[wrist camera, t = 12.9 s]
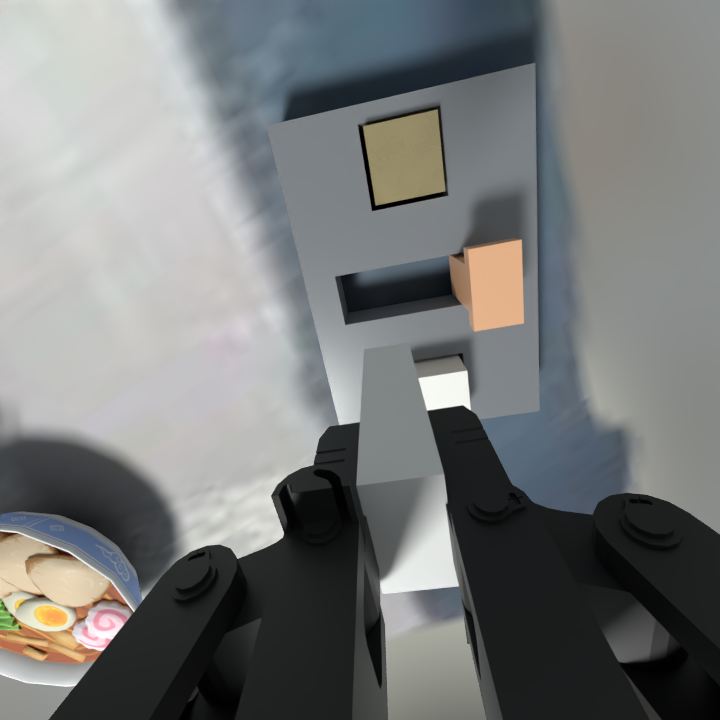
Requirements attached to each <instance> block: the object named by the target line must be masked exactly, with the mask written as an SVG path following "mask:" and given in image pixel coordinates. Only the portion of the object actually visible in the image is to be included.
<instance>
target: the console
mask: <svg viewBox="0 0 720 720" xmlns="http://www.w3.org/2000/svg"><path fill="white" fill-rule="evenodd" d="M437 109H438V119H439V130H440V140H441V151H442V161H443V172H444V182H445V191H444V192H440V193H439V196H440V197H438V198H433V199H428V200H423V201H418V202H414V203H409V204H404V205H399V206H394V207H389V208H384V209H379V210H374V211H372V207H371V201H370V195H369V189H368V183H367V177H366V171H365V165H364V159H363V153H362V147H361V141H360V135H361V134H364V130H363V126H367V125H371V124H376V123H380V122H385V121H389V120H393V119H398V118H402V117H407V116H411V115H415V114H420V113H424V112H429V111H433V110H437ZM266 127H267V131H268V135H269V139H270V143H271V147H272V151H273V155H274V159H275V163H276V167H277V172H278V176H279V180H280V184H281V188H282V192H283V196H284V200H285V204H286V208H287V213H288V217H289V221H290V225H291V229H292V233H293V237H294V241H295V245H296V249H297V253H298V258H299V262H300V266H301V270H302V274H303V278H304V282H305V286H306V290H307V294H308V298H309V303H310V307H311V311H312V315H313V319H314V323H315V327H316V331H317V335H318V339H319V343H320V348H321V352H322V356H323V360H324V364H325V368H326V372H327V376H328V380H329V384H330V388H331V393H332V397H333V401H334V405H335V409H336V413H337V417H338V421H339V425H343V424H350V423H357V422H360V411H361V393H362V375H363V358H364V350H365V349H370V348H376V347H382V346H388V345H394V344H400V343H406V342H409V346H410V349H411V353H412V357H413V361H416V360H422V359H428V358H435V357H441V356H447V355H453V354H458V355H459V357H460V359H461V361H462V362H463V364H464V366H465V368H466V369H467V373H468V385H469V396H470V407H471V411H472V412H474V413H475V414H477V416H478V418H479V419H486V418H493V417H500V416H507V415H514V414H521V413H528V412H535V411H539V333H538V248H537V163H536V78H535V63H532V64H527V65H523V66H519V67H515V68H510V69H506V70H502V71H498V72H493V73H489V74H485V75H481V76H476V77H472V78H468V79H463V80H459V81H455V82H451V83H446V84H442V85H438V86H434V87H429V88H425V89H421V90H417V91H412V92H408V93H404V94H400V95H395V96H391V97H387V98H382V99H378V100H374V101H370V102H365V103H361V104H357V105H353V106H348V107H344V108H340V109H336V110H331V111H327V112H323V113H318V114H314V115H310V116H306V117H301V118H297V119H293V120H289V121H284V122H280V123H276V124H272V125H267V126H266ZM511 238H517V239H522V267H523V305H524V323H523V324H517V325H511V326H505V327H499V328H493V329H487V330H481V331H475V332H474V330H473V329H472V328H471V327H470V322H469V311H468V310H467V309H466V308H465V307H464V306H463V305H462V304H461V302H460V301H459V300H458V299H457V298H456V297H455V296H454V295H453V294H451V295H445V296H440V297H434V298H428V299H423V300H417V301H412V302H406V303H400V304H395V305H389V306H383V307H378V308H372V309H366V310H361V311H355V312H350V313H348V310H347V305H346V300H345V295H344V290H343V285H342V281H341V275H346V274H351V273H357V272H362V271H367V270H373V269H378V268H383V267H389V266H394V265H399V264H405V263H410V262H415V261H420V260H426V259H431V258H436V257H442V256H447V255H452V254H458V253H463V252H464V249H463V248H464V247H469V246H474V245H479V244H485V243H490V242H495V241H500V240H506V239H511Z"/></svg>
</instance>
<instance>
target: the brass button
mask: <svg viewBox="0 0 720 720" xmlns="http://www.w3.org/2000/svg"><path fill="white" fill-rule="evenodd" d="M363 130H364V138H365V145H366V151H367V157H368V163H369V169H370V175H371V182H372V188H373V194H374V200H375V206H377V205H382V204H387V203H392V202H397V201H401V200H406V199H411V198H416V197H421V196H426V195H431V194H435V193H440V192H444V191H445V182H444V172H443V161H442V151H441V140H440V130H439V119H438V109H437V110H433V111H429V112H424V113H420V114H415V115H411V116H407V117H402V118H398V119H393V120H389V121H385V122H380V123H376V124H371V125H367V126H363Z"/></svg>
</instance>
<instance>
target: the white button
mask: <svg viewBox="0 0 720 720" xmlns="http://www.w3.org/2000/svg"><path fill="white" fill-rule="evenodd" d="M414 364H415V368H416V372H417V375H418V379H419V383H420V386H421V390H422V394H423V398H424V401H425V405H426V409H427V411H428V410H434V409H441V408H448V407H454V406H461V405H463V406H465V407H466V408H468V409H469V410H471V407H470V396H469V385H468V373H467V369H466V368H465V366H464V364H463V362H462V361H461V359H460V357H459V355H458V354H453V355H447V356H441V357H435V358H428V359H422V360H416V361H414Z"/></svg>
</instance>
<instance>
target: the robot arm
mask: <svg viewBox="0 0 720 720" xmlns="http://www.w3.org/2000/svg"><path fill="white" fill-rule="evenodd" d="M316 453H317V455H316V456H315V460H314V465H313V466H309V467H305V468H301V469H299V470H298V471H296V472H294V473H292V474H290V475H288V476H287V477H286V478H285V479H284V480H283V481H281V482H280V483H279V484H278V485H277V487H276V488H275V490H274V492H273V494H272V495H271V497H272V500H273V503H274V505H275V508H276V511H277V514H278V517H279V519H280V522H281V525H282V528H283V531H284V536H283V538H282V539H281V540H279V541H278V542H276V543H274V544H272V545H270V546H268V547H266V548H264V549H262V550H259V551H257V552H254V553H252V554H249V555H247V556H244V557H242V558H239V559H237V557H236V556H235V554H234V553H233V551H232V550H231V549H230V548H228V547H225V546H222V545H212V546H205V547H202V548H200V549H197V550H195V551H192V552H190V553H189V554H187V555H186V556H184V557H183V558H181V559H180V560H178V561H177V562H175V563H174V565H173V566H172V567H171V568H170V569H169V570H168V571H167V572H166V573H165V574H164V575H163V576H162V577H161V578H160V580H159V581H158V582H157V583H156V585H155V586H154V587H153V588H152V590H151V591H150V592H149V594H148V595H147V596H146V597H145V599H144V600H143V601H142V602H141V604H140V605H139V606H138V607H137V609H136V610H135V611H134V612H133V614H132V615H131V616H130V618H129V619H128V620H127V621H126V623H125V624H124V625H123V626H122V628H121V629H120V630H119V631H118V633H117V634H116V635H115V637H114V638H113V639H112V640H111V642H110V643H109V644H108V645H107V647H106V648H105V649H104V650H103V652H102V653H101V654H100V655H99V657H98V658H97V659H96V661H95V662H94V663H93V664H92V666H91V667H90V668H89V669H88V671H87V672H86V673H85V674H84V676H83V677H82V678H81V680H80V681H79V682H78V683H77V685H76V686H75V687H74V688H73V690H72V691H71V692H70V694H69V695H68V696H67V697H66V698H65V700H64V701H63V702H62V704H61V705H60V706H59V707H58V709H57V710H56V711H55V712H54V714H53V715H52V716H51V717H50V719H49V720H388V708H387V677H386V647H385V623H384V619H383V615H382V610H381V606H380V585H381V589H382V593H383V594H387V593H397V592H407V591H416V590H426V589H436V588H446V587H456V586H459V589H460V593H461V598H462V605H463V613H464V621H465V628H466V636H467V643H468V644H470V646H471V650H472V655H473V660H474V664H475V668H476V673H477V677H478V682H479V687H480V691H481V696H482V700H483V705H484V709H485V714H486V718H487V720H720V534H718V533H717V532H715V531H714V530H713V529H711V528H710V527H708V526H707V525H705V524H704V523H702V522H701V521H700V520H698V519H697V518H695V517H694V516H692V515H691V514H690V513H688V512H686V511H684V510H683V509H681V508H679V507H677V506H675V505H674V504H672V503H670V502H667V501H664V500H661V499H658V498H655V497H652V496H648V495H642V494H632V493H624V494H617V495H610V496H608V497H607V498H605V499H603V500H602V501H600V502H598V504H597V506H596V509H595V511H594V513H593V515H589V514H582V513H574V512H566V511H559V510H554V509H550V508H546V507H543V506H541V505H538V504H535V503H534V502H532V501H531V500H530V499H529V497H528V496H527V495H526V494H525V493H524V492H523V491H522V490H520V489H518V488H517V487H515V486H513V485H512V483H511V482H510V480H509V478H508V476H507V474H506V472H505V470H504V468H503V466H502V464H501V462H500V460H499V458H498V456H497V454H496V452H495V450H494V448H493V446H492V444H491V442H490V440H488V436H487V434H486V432H485V430H483V426H482V424H481V422H480V420H479V418H478V416H477V414H475V413H474V412H472V411H471V410H469V409H468V408H466V407H465V406H463V405H461V406H454V407H448V408H441V409H434V410H428V411H427V409H426V405H425V401H424V398H423V394H422V390H421V386H420V383H419V379H418V375H417V372H416V368H415V364H414V361H413V357H412V353H411V349H410V346H409V342H406V343H400V344H394V345H388V346H382V347H376V348H370V349H365V350H364V358H363V375H362V393H361V411H360V422H357V423H350V424H343V425H337V426H330V427H329V428H328V429H327V430H326V431H325V433H324V434H323V435H322V436H321V438H320V439H319V443H318V447H317V451H316Z"/></svg>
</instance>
